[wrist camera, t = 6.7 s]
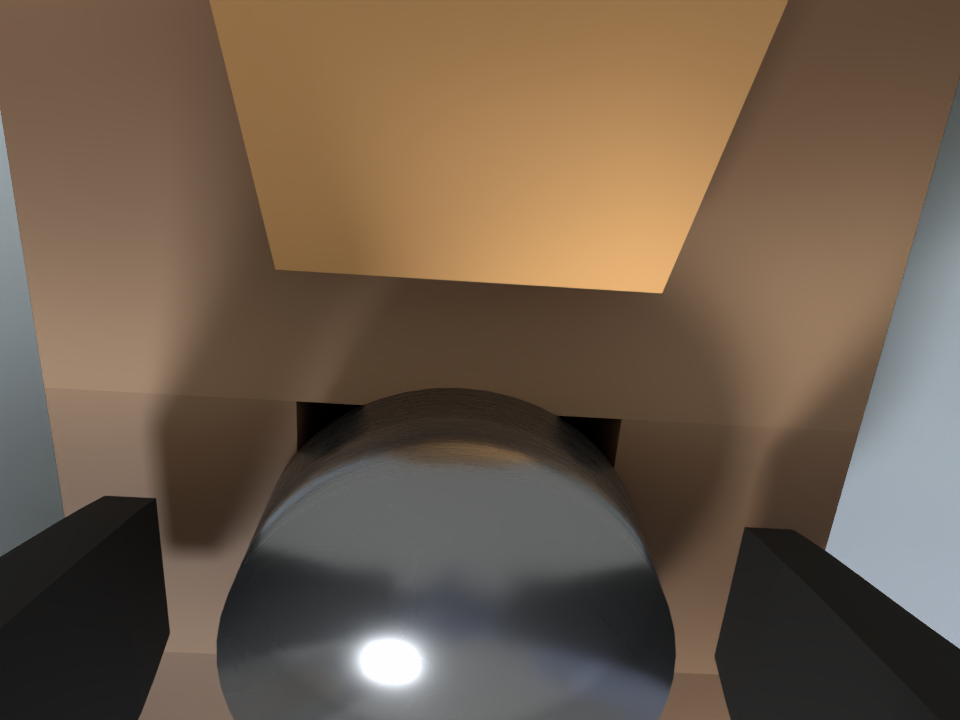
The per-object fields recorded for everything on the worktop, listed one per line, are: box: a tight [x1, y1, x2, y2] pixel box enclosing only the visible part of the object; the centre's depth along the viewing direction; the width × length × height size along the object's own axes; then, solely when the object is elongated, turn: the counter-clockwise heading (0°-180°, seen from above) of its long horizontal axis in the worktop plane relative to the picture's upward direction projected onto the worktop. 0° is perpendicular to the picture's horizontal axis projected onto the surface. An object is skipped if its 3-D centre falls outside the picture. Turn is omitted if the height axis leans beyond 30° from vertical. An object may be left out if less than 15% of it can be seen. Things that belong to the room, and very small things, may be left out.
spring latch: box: [209, 0, 788, 293], centre depth 6 cm, size 5×4×1 cm
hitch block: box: [0, 0, 960, 720], centre depth 11 cm, size 13×10×4 cm
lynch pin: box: [216, 388, 676, 720], centre depth 11 cm, size 5×5×6 cm
